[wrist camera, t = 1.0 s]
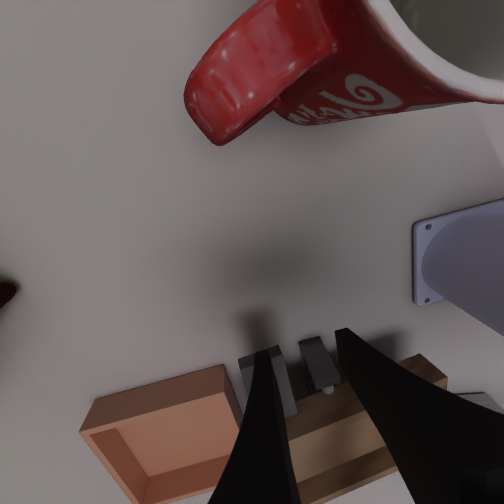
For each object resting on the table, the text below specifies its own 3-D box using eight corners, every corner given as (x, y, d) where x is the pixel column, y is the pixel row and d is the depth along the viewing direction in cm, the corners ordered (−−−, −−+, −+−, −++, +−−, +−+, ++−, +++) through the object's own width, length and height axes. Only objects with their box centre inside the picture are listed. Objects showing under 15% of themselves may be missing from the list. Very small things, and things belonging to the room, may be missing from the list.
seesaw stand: (319, 336, 24) (340, 375, 20) (335, 424, 29) (355, 472, 25) (298, 341, 24) (315, 382, 20) (317, 429, 29) (334, 477, 24)
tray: (223, 364, 24) (224, 391, 21) (254, 446, 29) (258, 477, 26) (95, 399, 24) (78, 432, 21) (146, 476, 28) (138, 511, 26)
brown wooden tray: (414, 290, 20) (451, 312, 17) (415, 421, 26) (443, 454, 23) (216, 361, 18) (220, 398, 16) (264, 485, 24) (273, 528, 21)
